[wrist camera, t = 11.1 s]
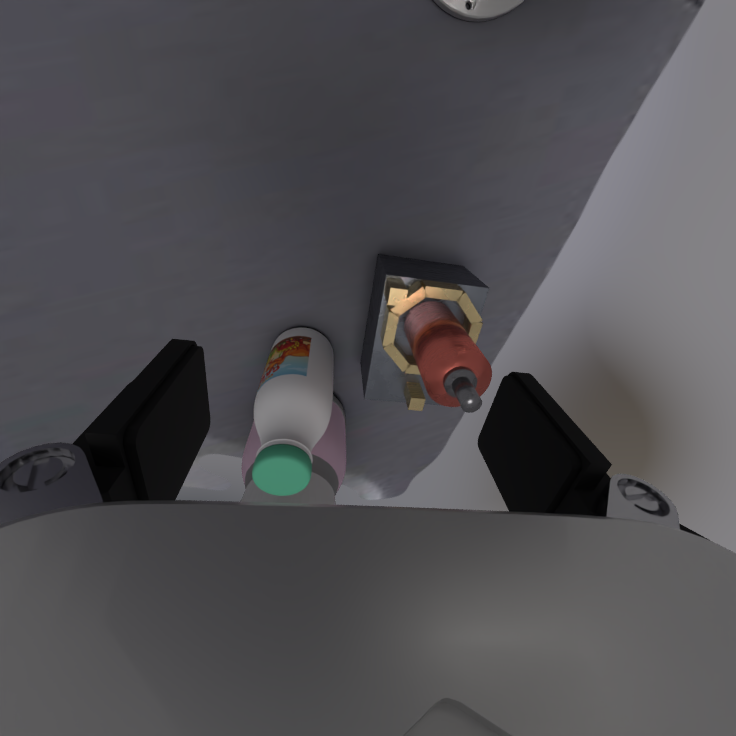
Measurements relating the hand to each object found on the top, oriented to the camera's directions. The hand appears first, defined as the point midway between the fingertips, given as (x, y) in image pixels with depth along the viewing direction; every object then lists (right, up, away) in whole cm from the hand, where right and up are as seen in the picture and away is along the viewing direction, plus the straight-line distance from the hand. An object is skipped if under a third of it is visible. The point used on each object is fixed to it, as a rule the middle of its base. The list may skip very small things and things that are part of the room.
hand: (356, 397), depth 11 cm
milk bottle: (-8, +3, +33) cm, 34 cm away
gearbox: (+5, +7, +32) cm, 33 cm away
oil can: (+6, +5, +24) cm, 25 cm away
